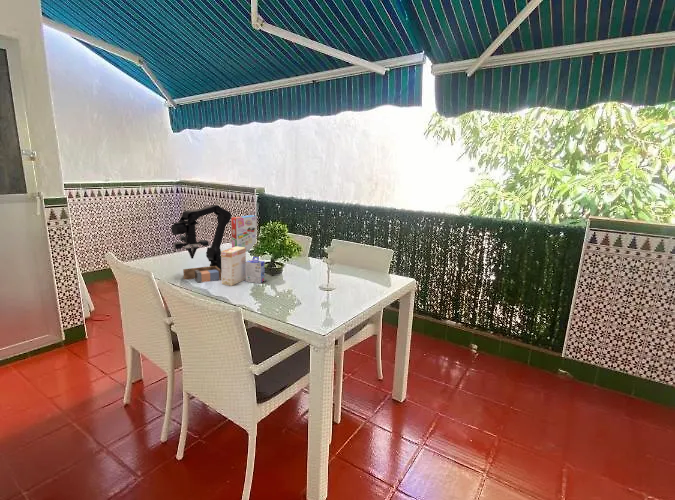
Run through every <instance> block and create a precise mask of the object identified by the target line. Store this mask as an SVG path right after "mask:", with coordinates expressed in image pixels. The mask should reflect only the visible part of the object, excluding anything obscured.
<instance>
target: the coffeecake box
mask: <svg viewBox="0 0 675 500" xmlns="http://www.w3.org/2000/svg"><path fill="white" fill-rule="evenodd" d="M246 252H247V251H246V248H245V247H239V246H236V247H233V248H232V247H230V248H228V249H227V248H226V249H224V250H221V269H222V272H221V285H224V286H230V287H231V286H234V285H236V284H238V283H240V282H243V281H246V262H247V259H246V257H247V255H246V254H247V253H246Z"/></svg>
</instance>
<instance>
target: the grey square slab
mask: <svg viewBox="0 0 675 500" xmlns="http://www.w3.org/2000/svg"><path fill="white" fill-rule="evenodd" d="M194 280H195V281H196V282H197V283H203V282H202V278H201V272H200V271H199V270H195V278H194Z"/></svg>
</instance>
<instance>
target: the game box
mask: <svg viewBox="0 0 675 500" xmlns="http://www.w3.org/2000/svg"><path fill="white" fill-rule="evenodd" d="M230 221H231V248H233V247H236V246H239V247H245V248H246V252H248V251H251V250H250V249H251V248H252V246H253V245H254V244H255V243H256V244H257V215H252V214H251V215H243V216H234V217H233V216H231V219H230Z"/></svg>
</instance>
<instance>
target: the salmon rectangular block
mask: <svg viewBox="0 0 675 500" xmlns="http://www.w3.org/2000/svg"><path fill="white" fill-rule="evenodd" d="M200 272H201V278H202V282H201V283H205V282H211V281H210V272H208V271H200Z"/></svg>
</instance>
